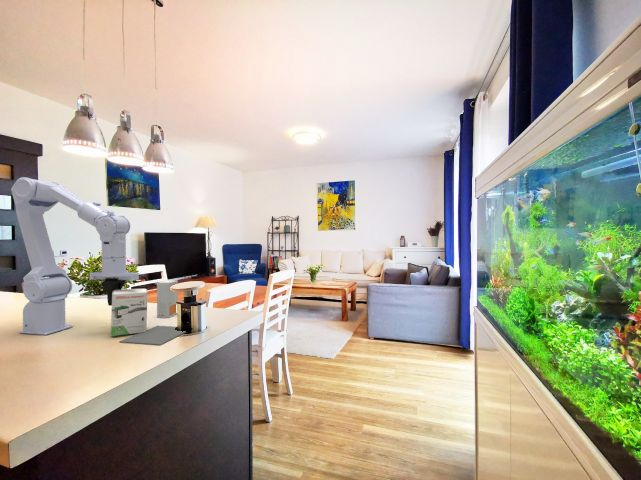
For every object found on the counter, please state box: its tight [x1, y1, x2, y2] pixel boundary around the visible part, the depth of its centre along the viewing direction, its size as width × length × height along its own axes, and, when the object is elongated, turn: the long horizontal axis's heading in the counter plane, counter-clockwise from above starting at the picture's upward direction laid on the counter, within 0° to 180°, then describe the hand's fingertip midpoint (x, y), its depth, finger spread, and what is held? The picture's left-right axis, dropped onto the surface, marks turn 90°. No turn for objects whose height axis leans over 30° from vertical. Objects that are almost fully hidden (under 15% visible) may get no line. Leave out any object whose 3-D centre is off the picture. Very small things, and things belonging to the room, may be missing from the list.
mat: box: [119, 325, 187, 346], centre depth 85 cm, size 12×14×1 cm
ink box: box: [110, 288, 148, 337], centre depth 86 cm, size 9×5×12 cm, turn 124°
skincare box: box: [156, 279, 179, 319], centre depth 105 cm, size 6×4×12 cm
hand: (114, 304), depth 87 cm, fingers closed, pressing on ink box
